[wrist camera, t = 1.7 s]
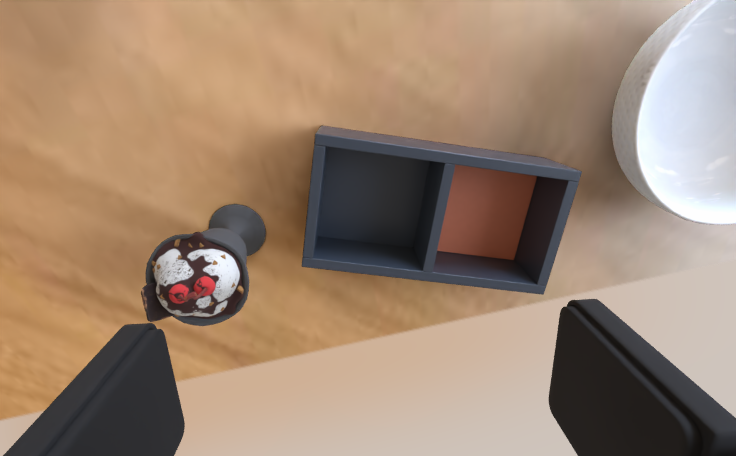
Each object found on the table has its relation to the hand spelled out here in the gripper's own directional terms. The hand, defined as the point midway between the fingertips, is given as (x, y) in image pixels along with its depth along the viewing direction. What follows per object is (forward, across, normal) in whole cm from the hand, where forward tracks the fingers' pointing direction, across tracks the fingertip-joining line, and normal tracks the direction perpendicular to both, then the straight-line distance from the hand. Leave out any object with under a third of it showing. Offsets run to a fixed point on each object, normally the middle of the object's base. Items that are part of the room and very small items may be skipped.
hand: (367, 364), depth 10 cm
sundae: (+27, +10, +6) cm, 30 cm away
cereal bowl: (+27, -28, -4) cm, 39 cm away
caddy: (+27, -6, +4) cm, 28 cm away
